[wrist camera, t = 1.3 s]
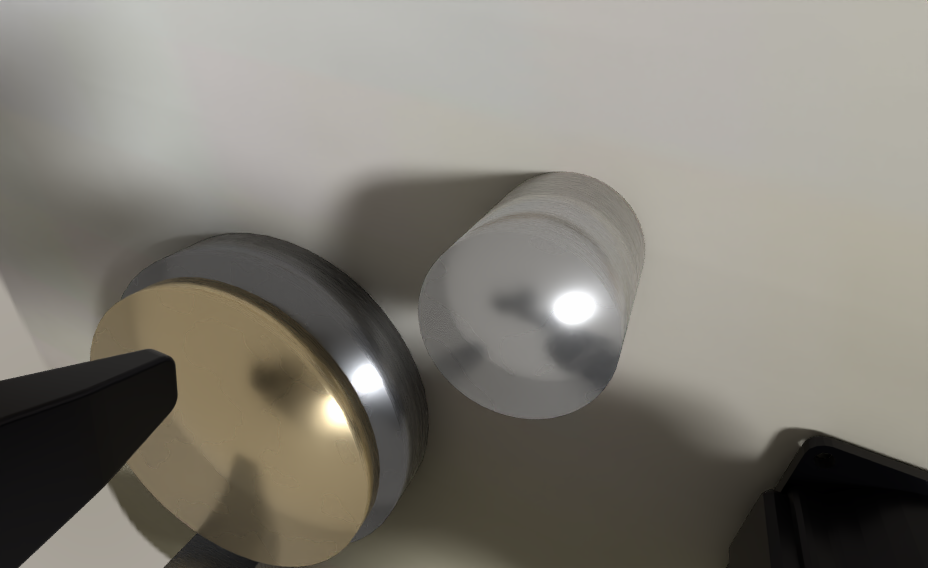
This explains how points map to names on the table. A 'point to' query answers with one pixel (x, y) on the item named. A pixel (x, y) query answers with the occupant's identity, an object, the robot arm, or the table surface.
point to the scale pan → (248, 423)
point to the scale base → (339, 332)
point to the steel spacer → (536, 297)
